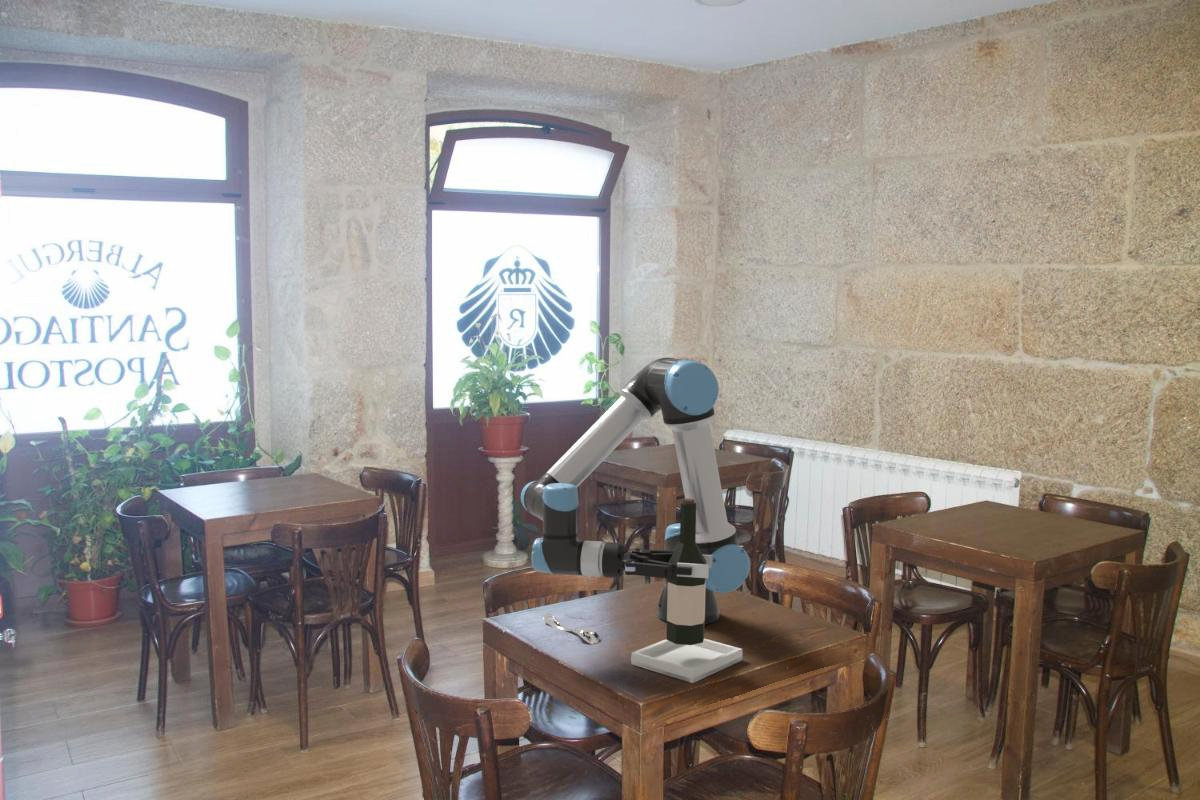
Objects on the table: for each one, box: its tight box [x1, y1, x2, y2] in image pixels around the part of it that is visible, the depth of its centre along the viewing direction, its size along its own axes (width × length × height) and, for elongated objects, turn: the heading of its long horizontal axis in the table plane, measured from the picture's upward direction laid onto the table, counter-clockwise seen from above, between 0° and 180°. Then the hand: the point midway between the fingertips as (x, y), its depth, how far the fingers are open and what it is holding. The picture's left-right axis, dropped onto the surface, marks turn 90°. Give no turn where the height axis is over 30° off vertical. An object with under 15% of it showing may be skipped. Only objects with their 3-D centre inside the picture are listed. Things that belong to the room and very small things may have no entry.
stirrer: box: [542, 613, 600, 645], centre depth 236 cm, size 20×4×5 cm
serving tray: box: [630, 638, 743, 684], centre depth 216 cm, size 18×16×2 cm
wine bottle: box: [666, 498, 706, 645], centre depth 214 cm, size 8×8×30 cm
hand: (710, 566), depth 213 cm, fingers closed on wine bottle, 8 cm apart
